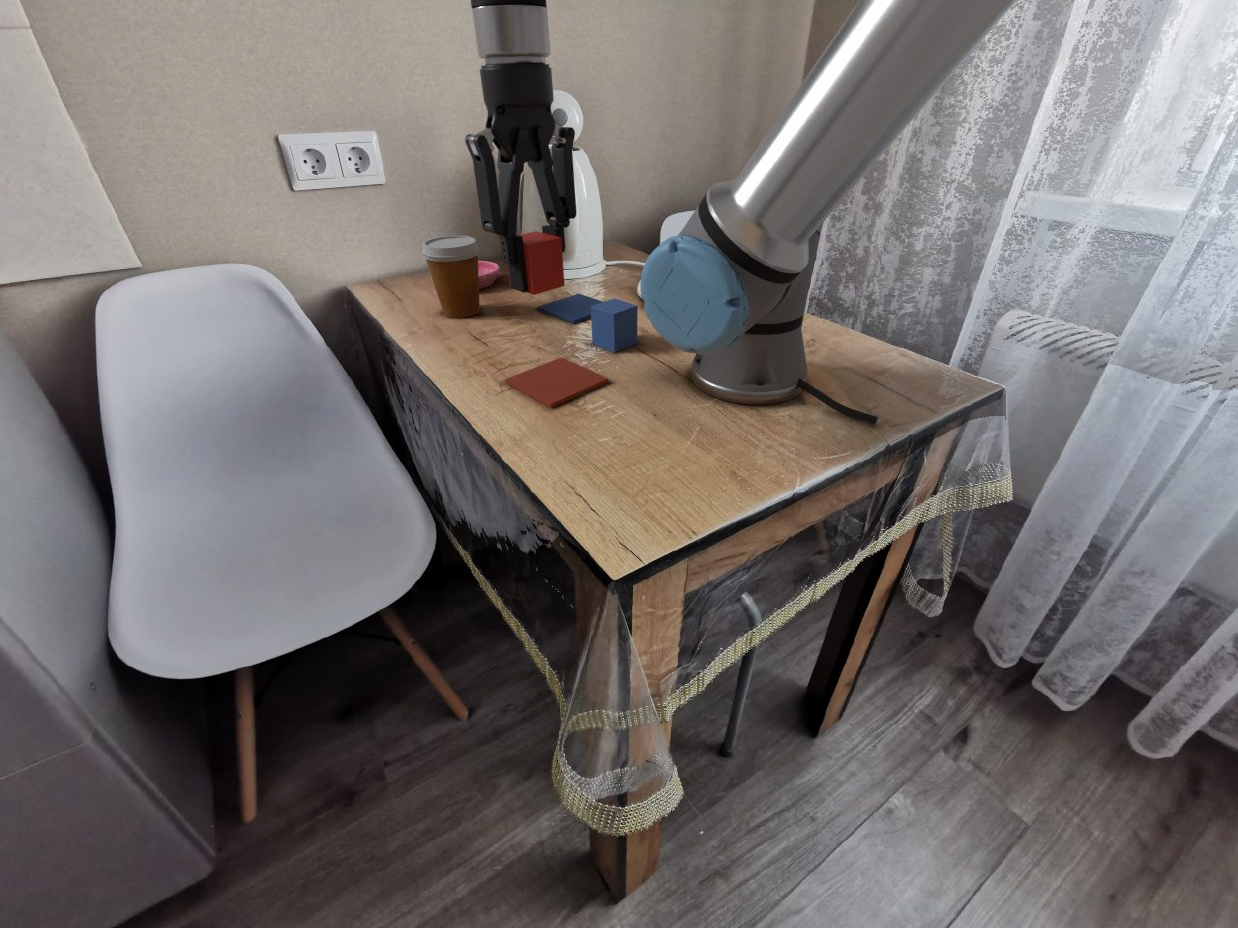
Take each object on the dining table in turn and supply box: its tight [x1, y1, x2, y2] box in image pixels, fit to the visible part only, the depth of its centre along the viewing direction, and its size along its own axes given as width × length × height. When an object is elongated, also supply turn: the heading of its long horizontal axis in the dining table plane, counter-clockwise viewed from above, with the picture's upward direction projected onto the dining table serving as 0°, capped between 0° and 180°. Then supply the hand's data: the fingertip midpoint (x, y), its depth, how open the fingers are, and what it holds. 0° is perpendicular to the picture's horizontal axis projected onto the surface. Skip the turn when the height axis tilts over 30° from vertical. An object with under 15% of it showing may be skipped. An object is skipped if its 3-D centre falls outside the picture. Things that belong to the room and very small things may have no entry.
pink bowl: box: [478, 260, 501, 290], centre depth 112 cm, size 12×12×3 cm
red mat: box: [504, 357, 609, 409], centre depth 76 cm, size 10×10×1 cm
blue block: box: [590, 298, 639, 353], centre depth 85 cm, size 5×5×6 cm
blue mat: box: [536, 293, 604, 324], centre depth 100 cm, size 10×10×1 cm
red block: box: [507, 230, 566, 296], centre depth 70 cm, size 5×5×6 cm
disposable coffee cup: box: [421, 235, 481, 319], centre depth 96 cm, size 10×10×12 cm
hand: (537, 284), depth 72 cm, fingers closed on red block, 5 cm apart
